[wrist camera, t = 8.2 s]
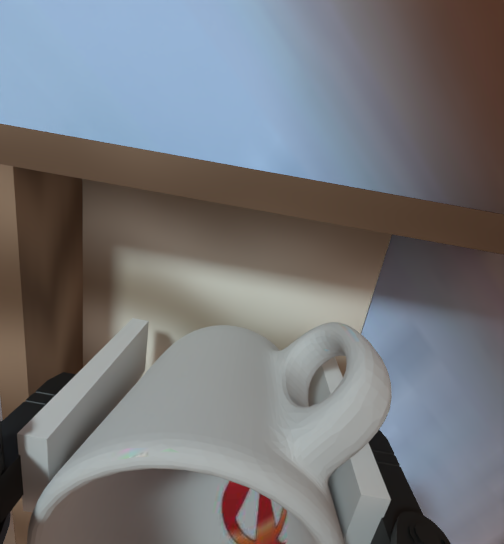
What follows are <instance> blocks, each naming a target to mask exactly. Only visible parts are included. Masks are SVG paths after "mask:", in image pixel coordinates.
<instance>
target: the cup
mask: <svg viewBox="0 0 504 544" xmlns="http://www.w3.org/2000/svg"><path fill="white" fill-rule="evenodd" d="M336 356H346V363H347V364H346V371H345V374H344V376H343V379H342V380H341V382H340V384H339V385H338V387H337V388H336V389H335V390H334V391H333V392H332V393H331V394H330V395H329V396H328V397H327V398H326V399H324V400H323V401H321V402H319V403H318V404H315V405H313V406H309V402H308V391H309V386H310V382H311V380H312V377H313V376H314V374H315V373H316V371H317V370H318V369H319V368H320V367H321V366H322V365H323V364H324V363H325V362H327V361H328V360H330V359H331V358H333V357H336ZM390 403H391V382H390V378H389V375H388V371H387V369H386V367H385V365H384V362H383V360H382V358H381V357H380V356H379V354H378V353H377V352H376V350H375V349H374V348H373V346H372V345H371V344H370V342H369V341H368V340H367V339H366V338H364V337H363V336H362V335H361V334H360V333H359V332H358V331H357V330H355V329H353V328H352V327H350V326H348V325H346V324H342V323H338V322H330V323H325V324H322V325H320V326H317V327H315V328H313V329H311V330H309V331H308V332H306V333H305V334H303V335H302V336H301V337H299V338H298V339H297V340H295V341H294V342H293V343H291V344H290V345H289V346H288V347H286V348H285V349H283V350H279V349H278V348H277V347H276V346H275V345H274V344H273V343H272V342H270V341H269V340H268V339H266V338H265V337H263V336H262V335H260V334H258V333H256V332H254V331H251V330H249V329H245V328H242V327H237V326H230V325H216V326H209V327H205V328H201V329H198V330H195V331H193V332H191V333H189V334H187V335H185V336H183V337H182V338H180V339H179V340H177V341H176V342H175V343H174V344H172V345H171V346H170V347H169V348H168V349H167V350H166V351H165V352H164V353H163V354H162V355H161V356H160V357H159V358H158V359H157V361H156V362H155V363H154V364H153V365H152V366H151V367H150V368H149V370H148V371H147V372H146V373H145V374H144V375H143V376H142V377H141V379H140V380H139V381H138V382H137V383H136V384H135V385H134V387H133V388H132V389H131V390H130V391H129V392H128V393H127V394H126V396H125V397H124V398H123V399H122V400H121V401H120V402H119V403H118V405H117V406H116V407H115V408H114V409H113V410H112V411H111V412H110V414H109V415H108V416H107V417H106V418H105V419H104V420H103V422H102V423H101V424H100V425H99V426H98V427H97V428H96V429H95V431H94V432H93V433H92V434H91V435H90V436H89V437H88V438H87V440H86V441H85V442H84V443H83V444H82V445H81V446H80V448H79V449H78V450H77V451H76V452H75V453H74V454H73V455H72V457H71V458H70V459H69V460H68V461H67V462H66V463H65V464H64V466H63V467H62V468H61V469H60V470H59V471H58V472H57V474H56V475H55V476H54V477H53V479H52V480H51V481H50V483H49V484H48V485H47V487H46V488H45V489H44V491H43V492H42V494H41V496H40V498H39V499H38V501H37V503H36V506H35V508H34V510H33V512H32V515H31V519H30V523H29V527H28V535H27V544H345V542H344V538H343V534H342V531H341V527H340V524H339V520H338V517H337V514H336V510H335V507H334V503H333V500H332V496H331V493H330V490H329V486H328V479H329V477H330V476H331V474H332V473H333V472H334V471H335V470H336V469H337V468H339V467H340V466H341V465H342V464H344V463H345V462H346V461H347V460H349V459H350V458H351V457H353V456H354V455H355V454H356V453H358V452H359V451H360V450H361V449H362V448H363V447H364V446H365V445H366V444H367V443H368V442H369V441H370V440H371V439H372V438H373V436H374V435H375V434H376V433H377V432H378V430H379V429H380V427H381V425H382V424H383V422H384V421H385V419H386V416H387V414H388V412H389V409H390Z"/></svg>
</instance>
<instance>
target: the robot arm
mask: <svg viewBox="0 0 504 544" xmlns="http://www.w3.org/2000/svg"><path fill="white" fill-rule="evenodd" d="M148 324H149V321H146V320H140V319H135V318H132V319H131V320H130V321H129V322H128V323H127V324H126V325H125V326H124V327H123V328H122V329H121V330H120V331H119V332H118V333H117V334H116V335H115V336H114V337H113V338H112V339H111V340H110V341H109V342H108V343H107V344H106V345H105V346H104V347H103V348H102V349H101V350H100V351H99V352H98V353H97V354H96V355H95V356H94V357H93V358H92V359H91V360H90V361H89V362H88V363H87V364H86V365H85V366H84V367H83V368H82V369H81V370H80V371H79V372H78V373H77V374H72V373H66V372H62V373H61V374H59V375H57V376H55V377H53V378H51V379H49V380H47V381H46V382H45V383H44V384H43V385H42V386H41V387H39V388H38V389H37V390H36V392H35V393H33V394H32V395H31V396H29V397H28V398H27V399H26V401H25V402H23V403H22V404H20V405H19V406H18V407H17V408H16V409H15V410H14V411H13V412H12V413H10V414H9V415H8V416H7V417H6V418H5V419H4V420H3V421H0V544H3V542H4V539H5V536H6V533H7V530H8V527H9V523H10V511H11V510H12V509H13V507H14V506H15V505H16V504H17V502H18V501H19V500H20V498H21V497H22V501H23V511H27V512H33V510H34V508H35V506H36V503H37V501H38V499H39V498H40V496H41V494H42V492H43V491H44V489H45V488H46V487H47V485H48V484H49V483H50V481H51V480H52V479H53V477H54V476H55V475H56V474H57V472H58V471H59V470H60V469H61V468H62V467H63V466H64V464H65V463H66V462H67V461H68V460H69V459H70V458H71V457H72V455H73V454H74V453H75V452H76V451H77V450H78V449H79V448H80V446H81V445H82V444H83V443H84V442H85V441H86V440H87V438H88V437H89V436H90V435H91V434H92V433H93V432H94V431H95V429H96V428H97V427H98V426H99V425H100V424H101V423H102V422H103V420H104V419H105V418H106V417H107V416H108V415H109V414H110V412H111V411H112V410H113V409H114V408H115V407H116V406H117V405H118V403H119V402H120V401H121V400H122V399H123V398H124V397H125V396H126V394H127V393H128V392H129V391H130V390H131V389H132V388H133V387H134V385H135V384H136V383H137V382H138V381H139V379H140V378H141V376H142V374H143V373H144V371H145V364H146V351H147V338H148ZM342 379H343V376H342V374H341V371H340V369H339V366H338V364H337V361H336V359H335V357H333V358H331V359H330V360H328V361H327V362H325V363H324V364H323V365H322V366H321V367H320V368H319V369H318V370H317V371H316V373H315V374H314V376H313V377H312V380H311V382H310V386H309V391H308V402H309V406H313V405H315V404H318V403H319V402H321V401H323V400H324V399H326V398H327V397H328V396H329V395H330V394H331V393H332V392H333V391H334V390H335V389H336V388H337V387H338V385H339V384H340V382H341V380H342ZM328 486H329V490H330V493H331V496H332V500H333V503H334V507H335V510H336V514H337V517H338V520H339V524H340V527H341V531H342V534H343V538H344V542H345V544H451V543H450V542H449V540H448V539H447V537H446V536H445V534H444V533H443V532H442V531H441V530H440V528H439V527H438V526H437V525H436V524H435V523H434V522H432V521H431V520H429V519H428V518H427V517H425V516H424V515H423V513H422V512H421V509H420V507H419V505H418V503H417V501H416V499H415V497H414V495H413V492H412V490H411V488H410V486H409V484H408V482H407V480H406V478H405V475H404V473H403V471H402V469H401V468H400V467H399V463H398V461H397V459H396V456H394V452H393V450H392V448H391V446H390V444H389V442H388V439H387V438H386V437H385V436H384V435H383V434H382V432H381V431H380V430H378V432H377V433H376V434H375V435H374V436H373V438H372V439H371V440H370V441H369V442H368V443H367V444H366V445H365V446H364V447H363V448H362V449H361V450H360V451H359V452H358V453H356V454H355V455H354V456H353V457H351V458H350V459H349V460H347V461H346V462H345V463H344V464H342V465H341V466H340V467H339V468H337V469H336V470H335V471H334V472H333V473H332V474H331V476H330V477H329V479H328Z"/></svg>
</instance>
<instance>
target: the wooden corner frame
mask: <svg viewBox="0 0 504 544" xmlns="http://www.w3.org/2000/svg"><path fill="white" fill-rule="evenodd" d="M392 234H393V235H398V236H404V237H409V238H415V239H420V240H426V241H432V242H437V243H443V244H448V245H454V246H459V247H465V248H471V249H476V250H482V251H487V252H493V253H498V254H504V214H499V213H493V212H488V211H482V210H476V209H471V208H465V207H460V206H454V205H449V204H443V203H438V202H432V201H426V200H421V199H415V198H410V197H404V196H399V195H393V194H388V193H382V192H376V191H371V190H365V189H360V188H354V187H349V186H343V185H338V184H332V183H326V182H321V181H315V180H310V179H304V178H299V177H293V176H288V175H282V174H276V173H271V172H265V171H260V170H254V169H249V168H243V167H238V166H232V165H227V164H221V163H215V162H210V161H204V160H199V159H193V158H188V157H182V156H177V155H171V154H165V153H160V152H154V151H149V150H143V149H138V148H132V147H127V146H121V145H115V144H110V143H104V142H99V141H93V140H88V139H82V138H77V137H71V136H65V135H60V134H54V133H49V132H43V131H38V130H32V129H27V128H21V127H16V126H10V125H4V124H0V397H1V407H2V417H3V420H4V419H5V418H6V417H7V416H8V415H9V414H10V413H12V412H13V411H14V410H15V409H16V408H17V407H18V406H19V405H20V404H22V403H23V402H25V401H26V399H27V398H28V397H29V396H31V395H32V394H33V393H35V392H36V390H37V389H38V388H39V387H41V386H42V385H43V384H44V383H45V382H46V381H47V380H49V379H51V378H53V377H55V376H57V375H59V374H61V373H62V372H66V373H72V374H77V373H78V372H79V371H80V370H81V369H82V368H83V367H84V366H85V365H86V364H87V363H88V362H89V361H90V360H91V359H92V358H93V357H94V356H95V355H96V354H97V353H98V352H99V351H100V350H101V349H102V348H103V347H104V346H105V345H106V344H107V343H108V342H109V341H110V340H111V339H112V338H113V337H114V336H115V335H116V334H117V333H118V332H119V331H120V330H121V329H122V328H123V327H124V326H125V325H126V324H127V323H128V322H129V321H130V320H131V319H132V318H135V319H140V320H146V321H149V324H148V338H147V351H146V364H145V371H144V373H143V374H142V376H143V375H144V374H145V373H146V372H147V371H148V370H149V368H150V367H151V366H152V365H153V364H154V363H155V362H156V361H157V359H158V358H159V357H160V356H161V355H162V354H163V353H164V352H165V351H166V350H167V349H168V348H169V347H170V346H171V345H172V344H174V343H175V342H176V341H177V340H179V339H180V338H182V337H183V336H185V335H187V334H189V333H191V332H193V331H195V330H198V329H201V328H205V327H209V326H216V325H230V326H237V327H242V328H245V329H249V330H251V331H254V332H256V333H258V334H260V335H262V336H263V337H265V338H266V339H268V340H269V341H270V342H272V343H273V344H274V345H275V346H276V347H277V348H278V349H279V350H283V349H285V348H286V347H288V346H289V345H290V344H291V343H293V342H294V341H295V340H297V339H298V338H299V337H301V336H302V335H303V334H305V333H306V332H308V331H309V330H311V329H313V328H315V327H317V326H320V325H322V324H325V323H330V322H338V323H342V324H346V325H348V326H350V327H352V328H353V329H355V330H357V331H358V332H359V333H360V334H361V331H362V327H363V324H364V321H365V318H366V315H367V312H368V309H369V305H370V302H371V299H372V296H373V293H374V290H375V287H376V283H377V280H378V277H379V274H380V271H381V268H382V264H383V261H384V258H385V255H386V252H387V249H388V246H389V242H390V239H391V236H392ZM335 359H336V361H337V364H338V366H339V369H340V371H341V374H342V376H344V374H345V371H346V364H347V363H346V356H336V357H335ZM142 376H141V377H142ZM140 379H141V378H140ZM140 379H139V380H140ZM12 513H13V522H14V532H15V542H16V544H27V535H28V527H29V523H30V519H31V515H32V512H27V511H23V501H22V497H21V498H20V500H19V501H18V502H17V504H16V505H15V506H14V507H13V509H12Z"/></svg>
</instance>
